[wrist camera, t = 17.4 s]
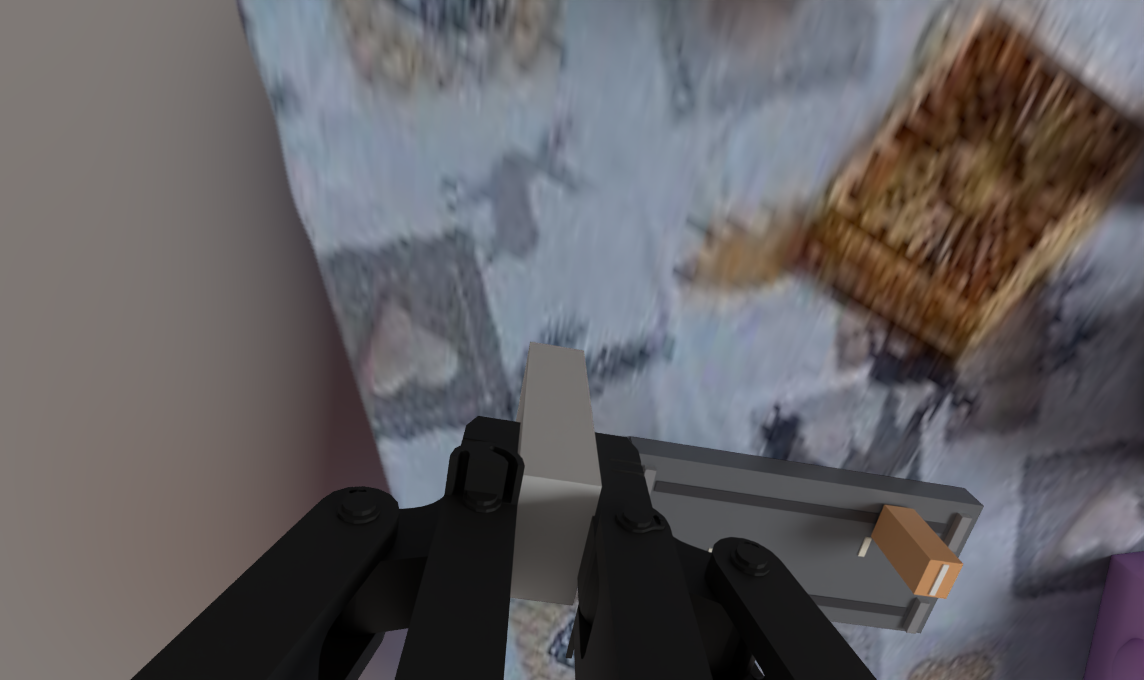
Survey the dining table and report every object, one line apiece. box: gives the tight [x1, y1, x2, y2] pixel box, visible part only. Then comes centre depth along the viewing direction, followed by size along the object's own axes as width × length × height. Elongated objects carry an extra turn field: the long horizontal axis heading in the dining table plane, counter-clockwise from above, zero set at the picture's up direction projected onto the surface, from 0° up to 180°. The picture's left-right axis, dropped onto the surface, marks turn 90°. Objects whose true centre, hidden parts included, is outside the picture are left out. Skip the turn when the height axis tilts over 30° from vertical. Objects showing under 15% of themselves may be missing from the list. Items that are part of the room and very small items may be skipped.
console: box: [630, 437, 984, 634], centre depth 50 cm, size 13×28×3 cm, turn 79°
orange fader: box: [871, 505, 963, 599], centre depth 45 cm, size 3×2×6 cm
